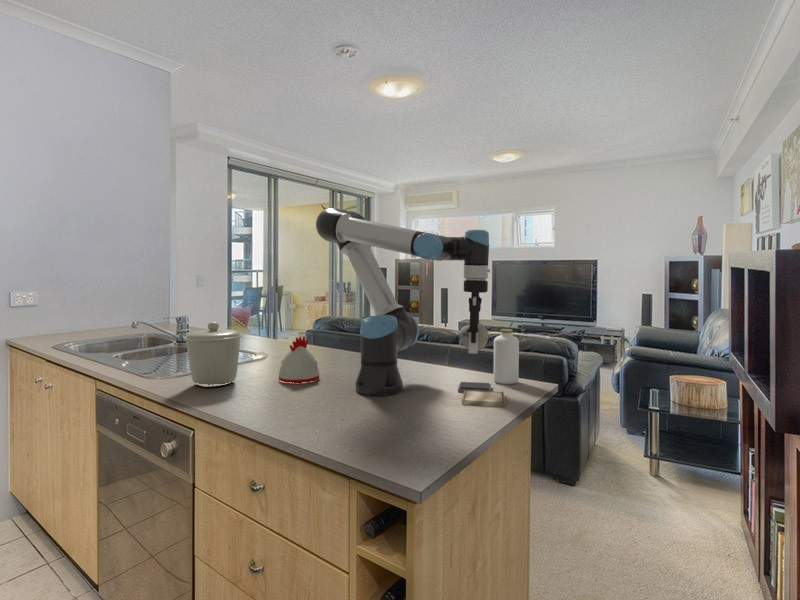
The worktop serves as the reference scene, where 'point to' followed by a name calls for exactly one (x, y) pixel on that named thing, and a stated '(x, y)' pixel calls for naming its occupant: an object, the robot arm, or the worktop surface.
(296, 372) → the grey knit hat
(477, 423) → the worktop surface
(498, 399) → the board
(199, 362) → the canister
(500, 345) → the potion bottle
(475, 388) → the ink pad
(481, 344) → the decorative object
